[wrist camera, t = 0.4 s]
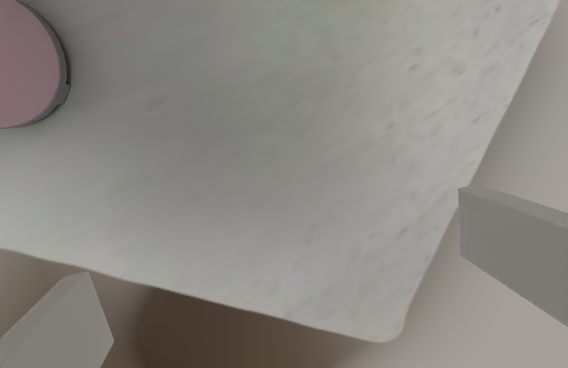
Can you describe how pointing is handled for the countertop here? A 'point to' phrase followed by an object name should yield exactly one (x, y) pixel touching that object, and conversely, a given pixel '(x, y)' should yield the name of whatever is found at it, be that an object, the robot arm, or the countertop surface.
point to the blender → (28, 66)
